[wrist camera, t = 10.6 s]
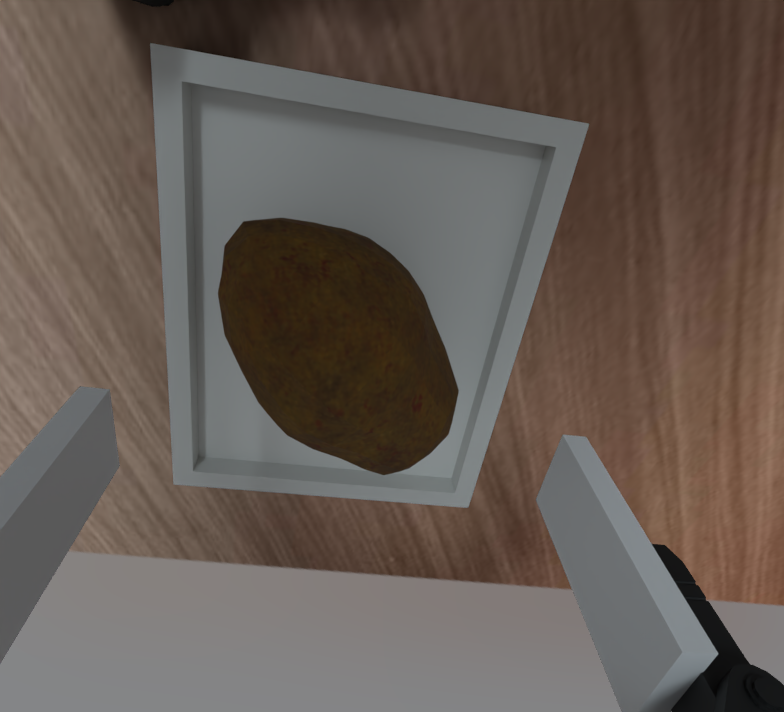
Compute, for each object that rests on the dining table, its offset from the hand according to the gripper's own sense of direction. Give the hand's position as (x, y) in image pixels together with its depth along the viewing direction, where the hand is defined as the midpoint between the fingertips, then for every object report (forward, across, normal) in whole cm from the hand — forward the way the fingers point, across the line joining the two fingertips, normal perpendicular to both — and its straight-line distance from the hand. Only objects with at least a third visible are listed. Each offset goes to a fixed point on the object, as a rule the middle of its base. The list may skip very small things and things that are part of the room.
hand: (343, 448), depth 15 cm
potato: (+10, 0, 0) cm, 10 cm away
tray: (+12, 0, -1) cm, 12 cm away
